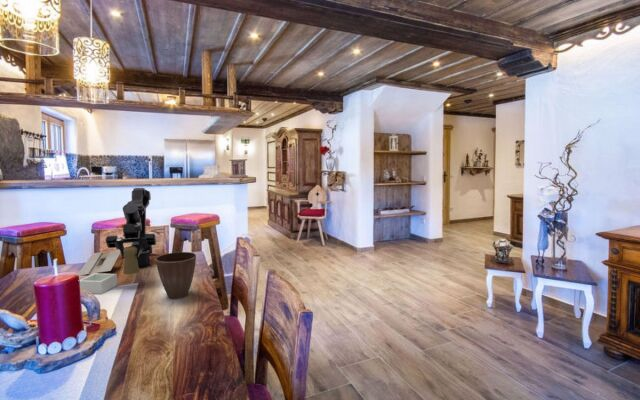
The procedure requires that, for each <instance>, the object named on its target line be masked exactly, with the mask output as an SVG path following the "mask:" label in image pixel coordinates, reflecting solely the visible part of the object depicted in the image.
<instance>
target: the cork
mask: <svg viewBox="0 0 640 400" xmlns="http://www.w3.org/2000/svg"><path fill="white" fill-rule="evenodd" d="M123 252H124V263H123V272H122V273H123V274H124V275H134V274H137V273H139V272H140V268H139V266H138V261H137V256H136V253H137V248H136V247H135V246H131V245H130V246H126V247H125V246H124V250H123Z"/></svg>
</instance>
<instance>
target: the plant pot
mask: <svg viewBox="0 0 640 400" xmlns="http://www.w3.org/2000/svg"><path fill="white" fill-rule="evenodd" d="M196 260H197V254H196V253H194V252H188V251H178V252H177V251H175V252H170V253H164V254H160V255H159V256H157V257H156V258H155V264H156V268H157V273H158V276H159V278H160V281H161V284H162V287H163V290H164V292H165V293H166V295H167V297H168V298H169V299H172V300H176V299H177V300H179V299H182V298H185V297H187V296H188V295H189V292H190V291H191V290H190V289H191V286H192V283H193V278H194V275H195V271H196V270H195V269H196V263H197V261H196Z"/></svg>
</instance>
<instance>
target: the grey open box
mask: <svg viewBox="0 0 640 400" xmlns="http://www.w3.org/2000/svg"><path fill="white" fill-rule="evenodd" d="M117 275H118V274H117V273H94V274H92V275H88V276H85V277H82V278H81V279H79V280H80V287H81V290H86V291H89V292H91V293H90V294H98V295H99V294H101V295H103V294H104V293H106V292H108V291H109V290H111V289H113V288H115V287H116V286H118V278H117V277H118V276H117Z"/></svg>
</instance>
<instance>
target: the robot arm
mask: <svg viewBox="0 0 640 400" xmlns="http://www.w3.org/2000/svg"><path fill="white" fill-rule="evenodd" d="M151 198H152V197H151V191H149V190H147V189H146V188H144V187H134V188H133V189H132V191H131V200H130V201H128V202H127V203H126V204H124V205H123V207H122V212H123V215H124V219H125V220H126V223H125V224H123V225H122V236H123V237H124V238H123V237H118V235H107V236H106V238H105V244H106V246H107V248H109V249H116V250H120V254H121V258H122V260H123V259H124V260H125V254H124V252H123V250H124V248H125V246H124V245H125V244H129V243H131V245H130V246H135V247H136V248H137V253H136V256H137V261H138V266H139V269H140V268H146V267H150V266H152V264H151V260H150V255H151V254H153V246H156V245H157V237H156V234H155V233H146V232H147V208H148V207H149V205H150V201H151Z"/></svg>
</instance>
